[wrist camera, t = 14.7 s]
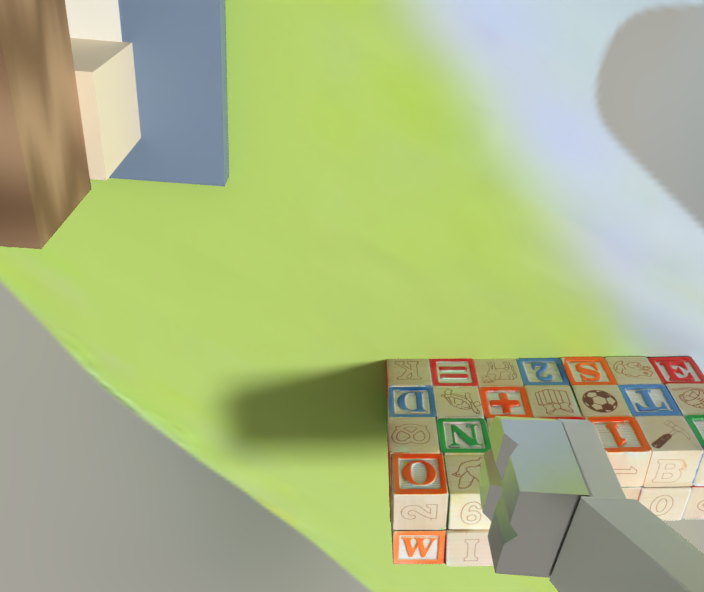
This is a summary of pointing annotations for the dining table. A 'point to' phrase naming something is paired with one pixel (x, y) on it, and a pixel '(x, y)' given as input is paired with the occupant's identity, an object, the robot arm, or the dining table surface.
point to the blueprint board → (152, 88)
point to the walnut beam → (38, 123)
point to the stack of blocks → (533, 402)
